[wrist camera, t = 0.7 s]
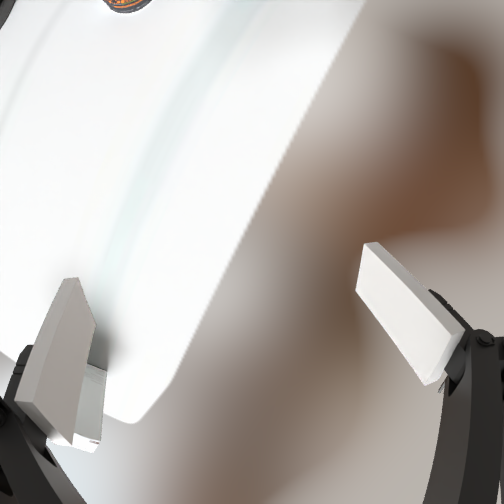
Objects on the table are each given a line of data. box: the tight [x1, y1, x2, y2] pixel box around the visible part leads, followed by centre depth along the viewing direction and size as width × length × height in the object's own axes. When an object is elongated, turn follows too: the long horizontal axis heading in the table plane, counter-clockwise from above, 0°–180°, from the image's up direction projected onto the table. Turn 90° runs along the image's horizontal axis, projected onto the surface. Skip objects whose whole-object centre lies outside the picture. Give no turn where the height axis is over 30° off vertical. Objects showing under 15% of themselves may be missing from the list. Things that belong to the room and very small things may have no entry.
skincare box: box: [47, 364, 107, 453], centre depth 40 cm, size 8×6×15 cm
